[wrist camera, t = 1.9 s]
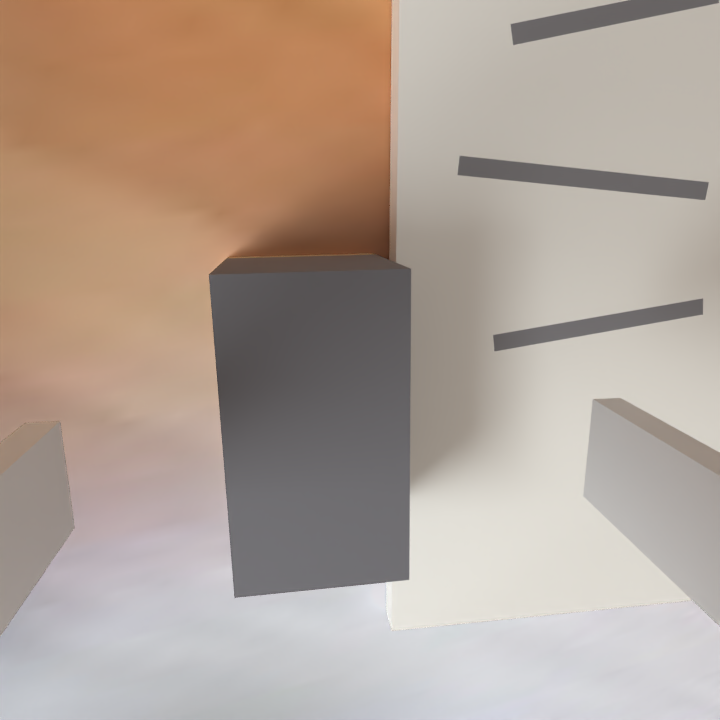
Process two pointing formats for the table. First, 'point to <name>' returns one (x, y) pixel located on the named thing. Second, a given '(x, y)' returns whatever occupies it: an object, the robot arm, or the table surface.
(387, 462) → the block
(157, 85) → the table surface
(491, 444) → the board
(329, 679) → the table surface
